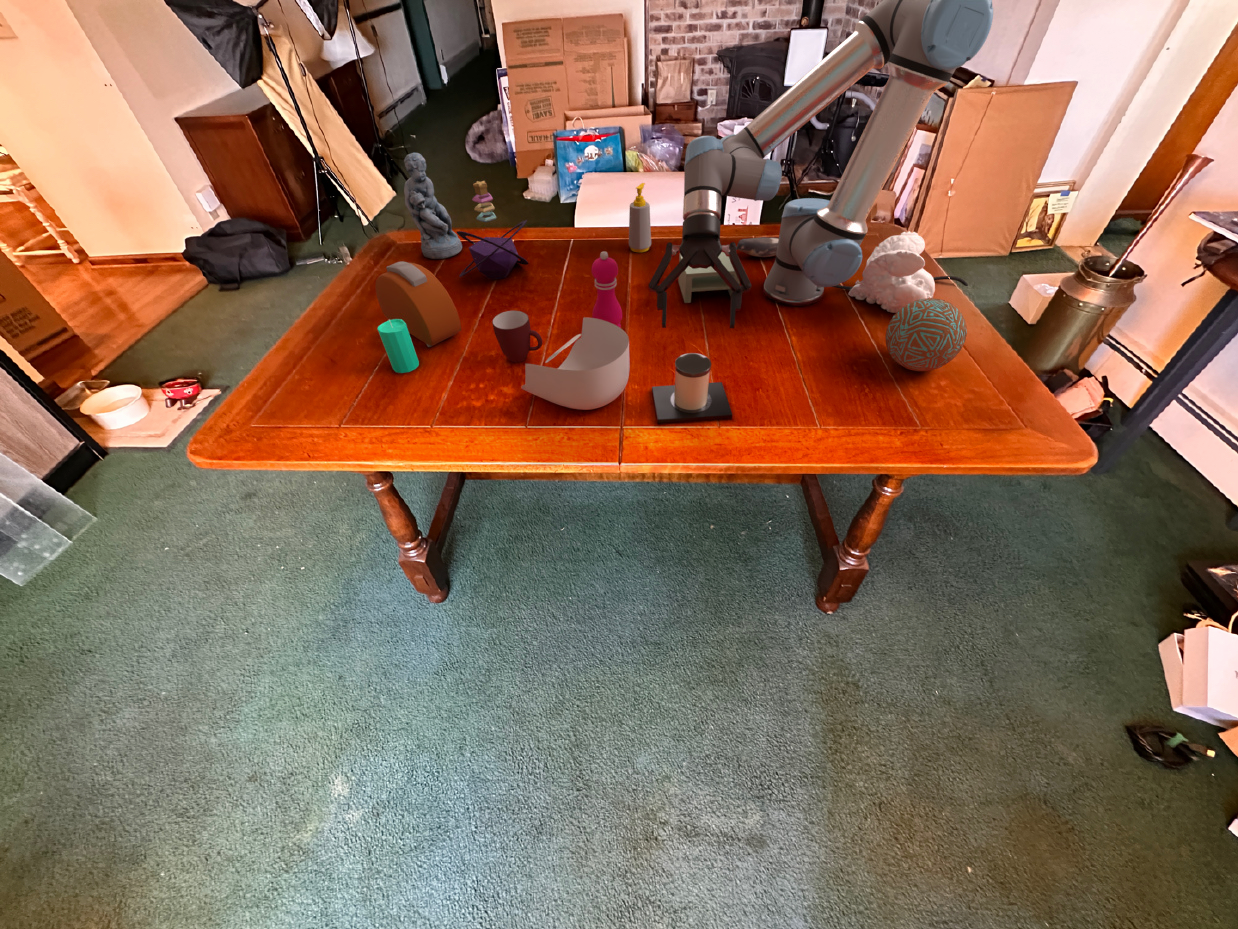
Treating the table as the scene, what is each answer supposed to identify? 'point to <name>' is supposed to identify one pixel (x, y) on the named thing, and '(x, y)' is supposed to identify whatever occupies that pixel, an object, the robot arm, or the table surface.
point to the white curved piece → (585, 369)
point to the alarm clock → (417, 302)
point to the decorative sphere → (926, 334)
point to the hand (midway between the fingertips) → (697, 326)
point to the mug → (515, 335)
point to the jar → (691, 381)
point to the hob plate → (672, 413)
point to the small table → (704, 279)
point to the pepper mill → (606, 290)
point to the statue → (428, 212)
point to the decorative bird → (759, 246)
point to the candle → (398, 345)
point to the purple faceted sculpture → (491, 242)
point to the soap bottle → (639, 223)
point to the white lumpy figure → (895, 274)
